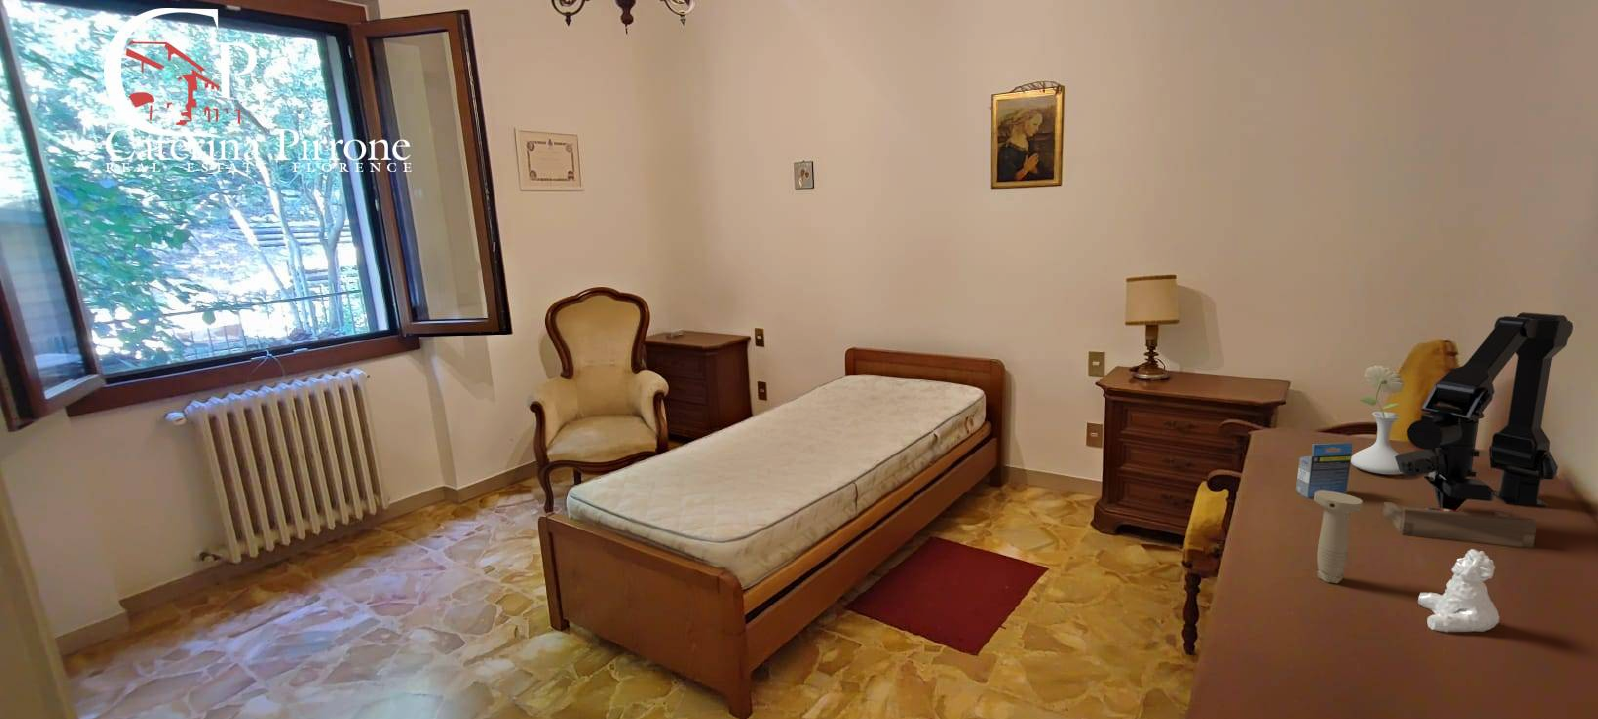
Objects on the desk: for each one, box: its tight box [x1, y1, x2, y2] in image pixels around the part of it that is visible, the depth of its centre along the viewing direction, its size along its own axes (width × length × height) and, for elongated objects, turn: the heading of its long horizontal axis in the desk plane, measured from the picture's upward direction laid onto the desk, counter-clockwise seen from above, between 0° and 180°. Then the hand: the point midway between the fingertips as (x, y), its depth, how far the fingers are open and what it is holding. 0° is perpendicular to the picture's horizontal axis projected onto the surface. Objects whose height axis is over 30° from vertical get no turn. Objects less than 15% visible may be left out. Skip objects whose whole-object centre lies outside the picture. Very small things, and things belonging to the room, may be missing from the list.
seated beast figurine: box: [1417, 548, 1501, 634], centre depth 106 cm, size 10×9×12 cm
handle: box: [1313, 490, 1363, 584], centre depth 119 cm, size 5×6×15 cm
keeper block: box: [1382, 501, 1538, 549], centre depth 136 cm, size 10×19×5 cm, turn 67°
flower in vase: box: [1351, 365, 1405, 476], centre depth 166 cm, size 13×11×25 cm
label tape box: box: [1295, 442, 1353, 499], centre depth 155 cm, size 9×4×12 cm, turn 92°
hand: (1444, 516), depth 140 cm, fingers closed
